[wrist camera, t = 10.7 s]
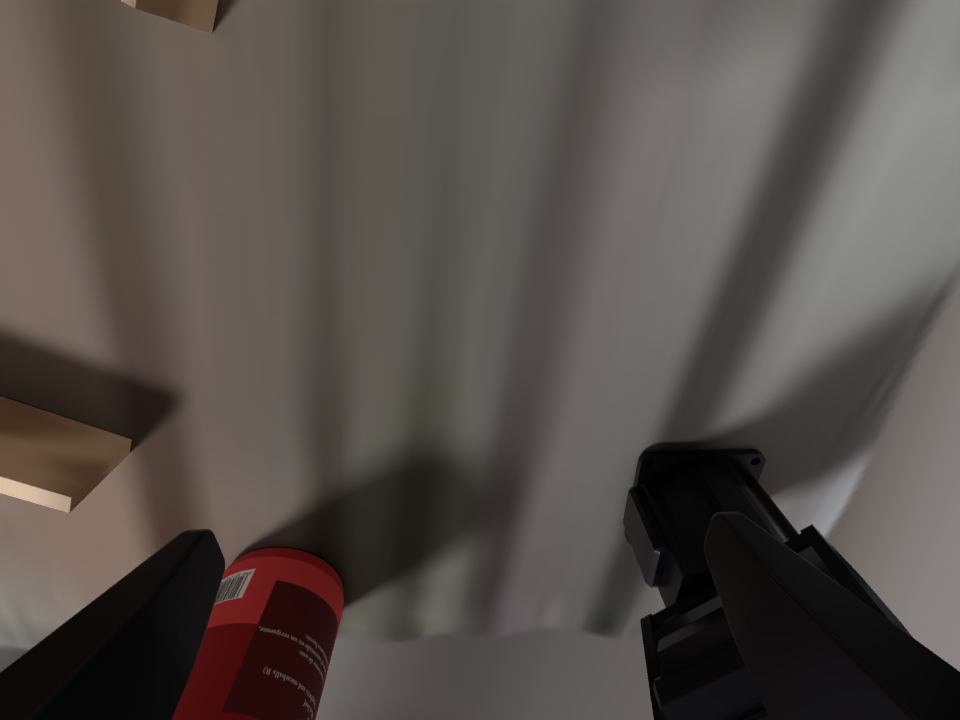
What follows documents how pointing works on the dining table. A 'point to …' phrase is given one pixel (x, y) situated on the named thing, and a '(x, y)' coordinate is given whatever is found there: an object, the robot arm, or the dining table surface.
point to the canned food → (266, 640)
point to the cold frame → (59, 440)
